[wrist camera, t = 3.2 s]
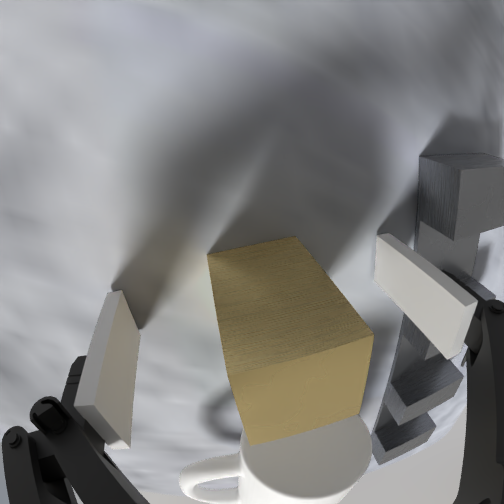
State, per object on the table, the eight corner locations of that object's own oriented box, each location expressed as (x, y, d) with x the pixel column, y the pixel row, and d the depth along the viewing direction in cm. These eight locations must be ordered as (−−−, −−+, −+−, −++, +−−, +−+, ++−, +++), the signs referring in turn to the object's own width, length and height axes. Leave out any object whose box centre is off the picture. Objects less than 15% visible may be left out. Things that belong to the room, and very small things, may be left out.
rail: (419, 156, 13) (460, 170, 11) (484, 153, 14) (521, 165, 11) (367, 443, 26) (378, 465, 23) (414, 422, 27) (426, 441, 24)
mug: (344, 382, 20) (394, 473, 13) (316, 449, 24) (345, 518, 17) (167, 404, 17) (174, 519, 10) (184, 467, 21) (194, 546, 14)
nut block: (206, 254, 13) (227, 375, 7) (295, 235, 14) (374, 334, 8) (223, 325, 15) (249, 445, 9) (300, 307, 16) (359, 413, 9)
